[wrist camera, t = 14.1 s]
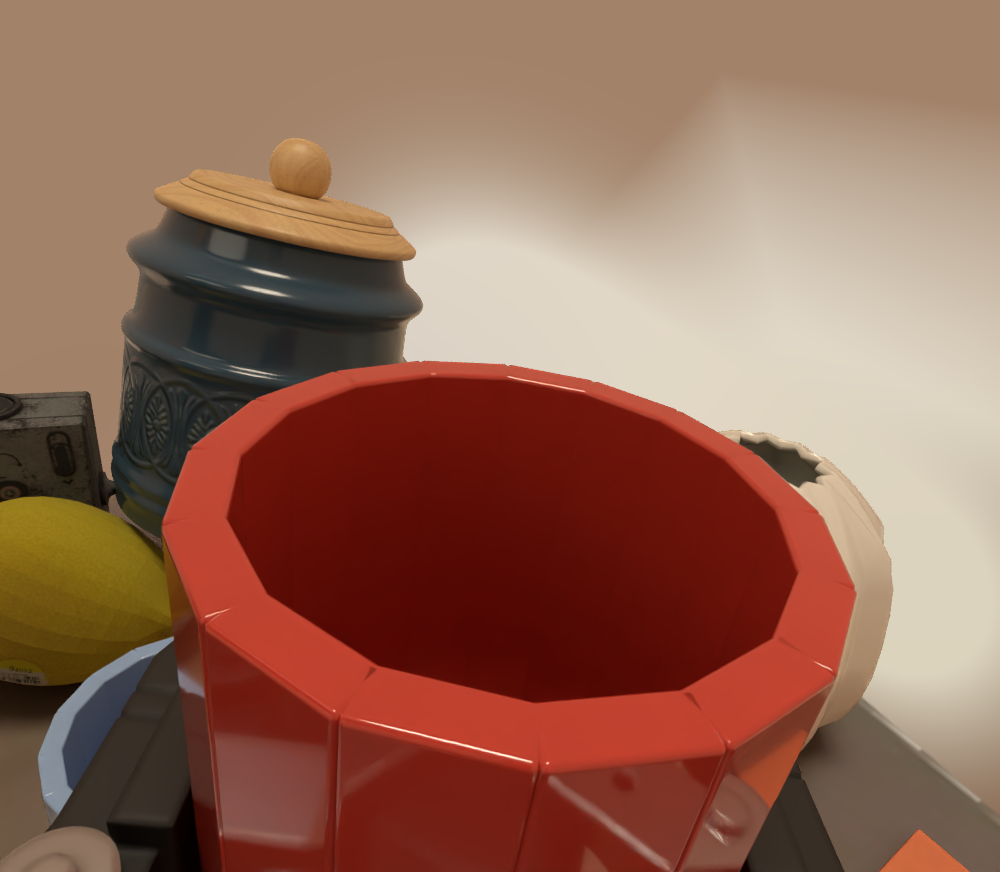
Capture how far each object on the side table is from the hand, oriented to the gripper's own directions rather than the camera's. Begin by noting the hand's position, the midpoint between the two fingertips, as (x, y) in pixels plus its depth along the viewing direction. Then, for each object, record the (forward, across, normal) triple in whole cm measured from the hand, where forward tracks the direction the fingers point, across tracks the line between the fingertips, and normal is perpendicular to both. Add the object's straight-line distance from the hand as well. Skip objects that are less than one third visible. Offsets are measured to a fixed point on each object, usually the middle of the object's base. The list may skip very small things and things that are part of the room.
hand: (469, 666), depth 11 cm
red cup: (-2, 0, +6) cm, 6 cm away
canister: (+22, +11, +12) cm, 27 cm away
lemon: (+17, +19, +17) cm, 31 cm away
